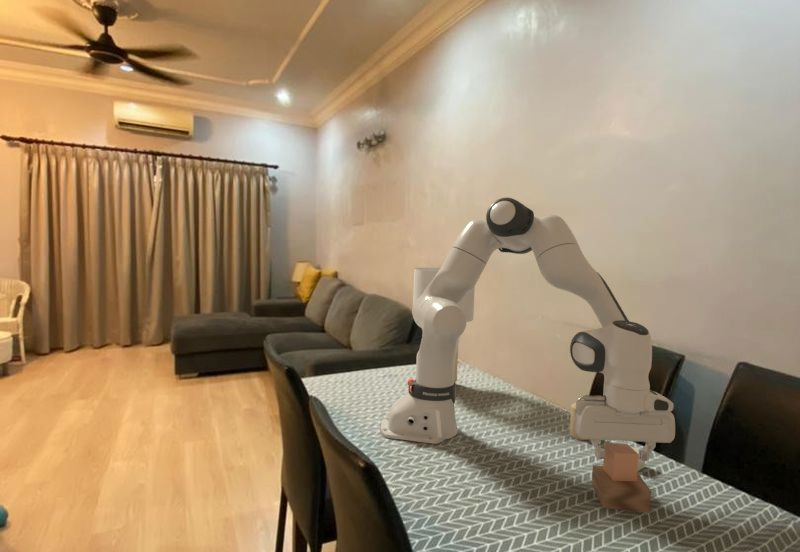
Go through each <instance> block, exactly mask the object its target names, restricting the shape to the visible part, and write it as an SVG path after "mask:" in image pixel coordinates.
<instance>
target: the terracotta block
mask: <svg viewBox="0 0 800 552" xmlns="http://www.w3.org/2000/svg"><path fill="white" fill-rule="evenodd" d="M630 446H631V445H629V444H628V443H618V442H617V443H616V442H604V447H603V450H604V451H605V455H604V456H605V458H604V459H603V462H602V466H603V470H604V471H605V472H606V473H607V474H608V475H609V477H610V478H611V479H612V480H613V481H634V482H637V473H638V471H637V470H638V456H639V454H638V453H637V452H636V451H634V450H633V449H632V448H631V447H632V446H631V447H630Z"/></svg>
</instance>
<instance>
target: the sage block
mask: <svg viewBox="0 0 800 552" xmlns="http://www.w3.org/2000/svg"><path fill="white" fill-rule="evenodd" d="M629 446H630V447H631V448H632V449H633V450H634V451H636V452H637V453H638V452H639V450H640V449H639V448H636V447H633V446H631V445H629ZM638 454H639V453H638ZM645 467H646V461H641V459H639V457H638V470H637V472H639V471H640V470H642V469H643V468H645Z"/></svg>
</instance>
